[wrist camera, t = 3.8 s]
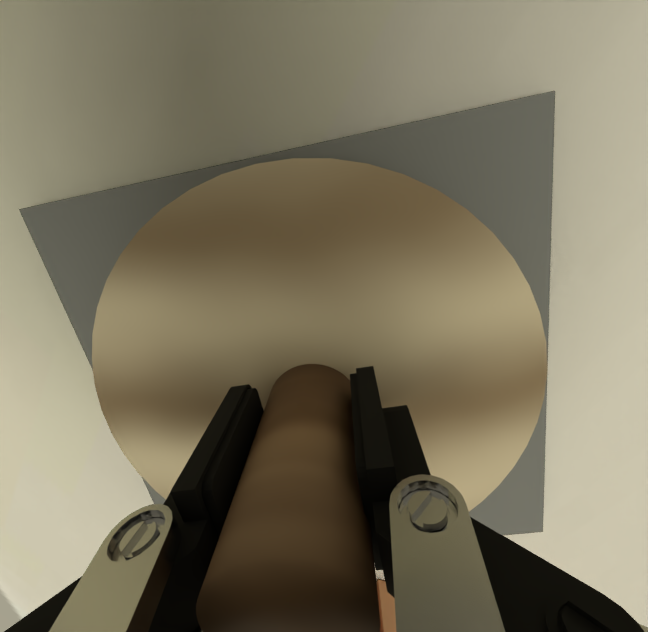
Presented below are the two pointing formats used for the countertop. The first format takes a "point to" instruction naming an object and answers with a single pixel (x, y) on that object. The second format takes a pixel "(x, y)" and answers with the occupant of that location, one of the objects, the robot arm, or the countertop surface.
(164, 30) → the countertop surface
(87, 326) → the mat
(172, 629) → the robot arm
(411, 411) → the lid
